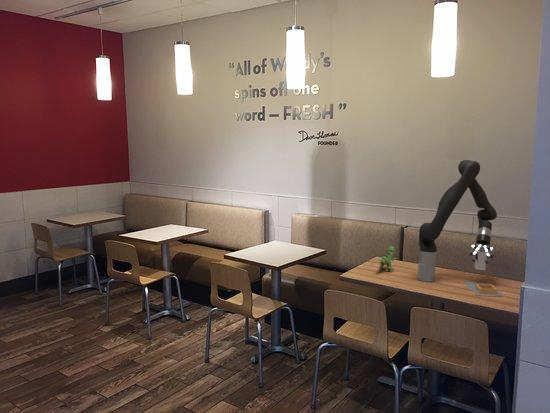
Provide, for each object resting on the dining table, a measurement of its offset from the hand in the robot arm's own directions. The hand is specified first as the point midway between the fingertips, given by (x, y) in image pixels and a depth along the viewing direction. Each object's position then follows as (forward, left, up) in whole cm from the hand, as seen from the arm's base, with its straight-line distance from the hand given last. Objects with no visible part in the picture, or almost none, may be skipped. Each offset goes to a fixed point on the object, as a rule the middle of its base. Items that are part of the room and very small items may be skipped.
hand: (480, 262), depth 273 cm
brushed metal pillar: (+1, +2, -4) cm, 5 cm away
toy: (-47, +25, -15) cm, 55 cm away
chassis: (+1, -5, -14) cm, 15 cm away
